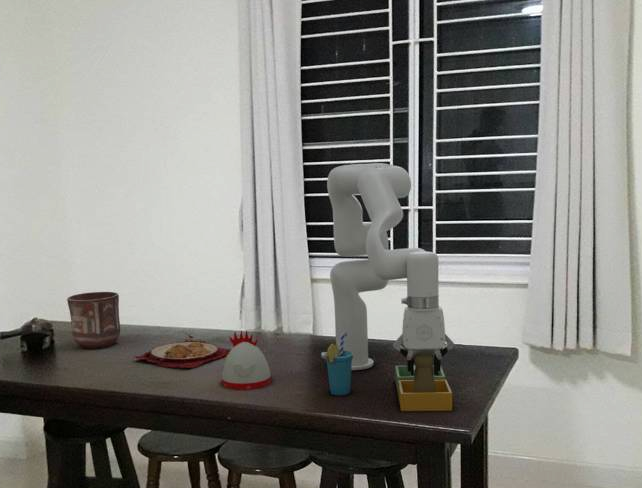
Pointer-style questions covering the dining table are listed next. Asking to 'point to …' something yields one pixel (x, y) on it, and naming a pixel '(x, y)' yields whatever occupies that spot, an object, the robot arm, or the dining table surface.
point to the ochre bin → (425, 397)
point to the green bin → (405, 375)
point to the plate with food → (184, 354)
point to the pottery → (95, 319)
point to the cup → (339, 368)
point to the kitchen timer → (245, 365)
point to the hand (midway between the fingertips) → (423, 373)
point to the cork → (423, 373)
